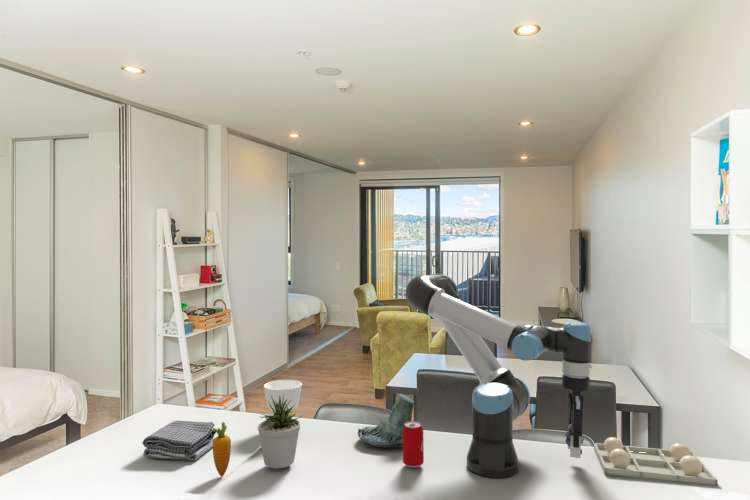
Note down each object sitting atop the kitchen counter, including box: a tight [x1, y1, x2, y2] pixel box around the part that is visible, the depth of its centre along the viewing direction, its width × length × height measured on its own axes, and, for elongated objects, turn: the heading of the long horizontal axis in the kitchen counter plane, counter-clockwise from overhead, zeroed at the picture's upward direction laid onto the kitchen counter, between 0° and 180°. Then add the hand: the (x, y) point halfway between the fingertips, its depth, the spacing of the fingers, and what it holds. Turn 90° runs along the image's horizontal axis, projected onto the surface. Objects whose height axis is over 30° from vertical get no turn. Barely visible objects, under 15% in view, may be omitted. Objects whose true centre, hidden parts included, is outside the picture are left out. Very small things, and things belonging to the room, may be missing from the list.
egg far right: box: [668, 442, 691, 462], centre depth 147 cm, size 5×5×5 cm
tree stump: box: [357, 393, 415, 449], centre depth 168 cm, size 18×20×18 cm
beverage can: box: [402, 420, 425, 468], centre depth 147 cm, size 6×6×12 cm
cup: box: [263, 379, 303, 416], centre depth 177 cm, size 14×14×16 cm
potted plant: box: [257, 393, 304, 469], centre depth 149 cm, size 13×14×20 cm
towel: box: [141, 420, 217, 462], centre depth 158 cm, size 15×18×8 cm
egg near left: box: [610, 449, 630, 469], centre depth 143 cm, size 5×5×5 cm
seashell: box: [564, 424, 585, 456], centre depth 146 cm, size 5×5×10 cm
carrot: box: [212, 422, 232, 478], centre depth 140 cm, size 5×5×15 cm
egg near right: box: [679, 455, 702, 476], centre depth 138 cm, size 5×5×5 cm
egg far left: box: [603, 436, 624, 454], centre depth 152 cm, size 5×5×5 cm
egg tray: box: [593, 442, 718, 487], centre depth 145 cm, size 28×19×2 cm
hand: (573, 452), depth 146 cm, fingers closed on seashell, 5 cm apart
